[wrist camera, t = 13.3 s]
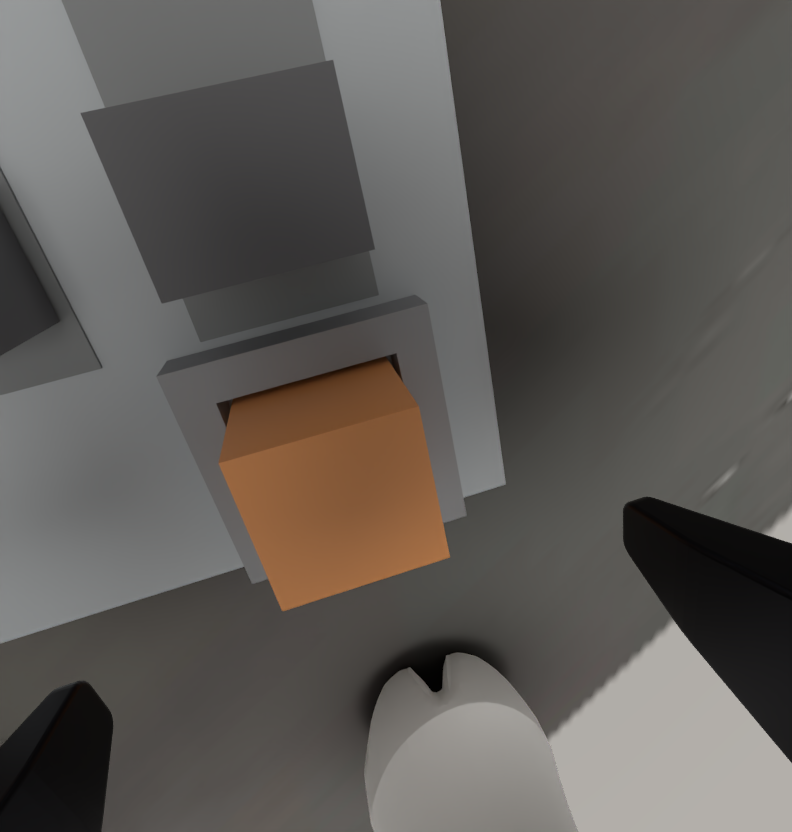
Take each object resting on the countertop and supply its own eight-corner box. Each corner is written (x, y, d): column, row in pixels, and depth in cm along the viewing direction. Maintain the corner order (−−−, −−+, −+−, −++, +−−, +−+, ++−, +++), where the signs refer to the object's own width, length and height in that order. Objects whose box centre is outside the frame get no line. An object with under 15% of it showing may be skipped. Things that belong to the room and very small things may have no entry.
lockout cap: (409, 472, 15) (449, 557, 12) (281, 510, 15) (282, 611, 11) (381, 349, 13) (418, 405, 10) (234, 389, 13) (218, 463, 9)
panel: (488, 462, 17) (553, 544, 13) (20, 606, 16) (-71, 750, 12) (344, -489, 9) (404, -1104, 5) (-745, -387, 7) (-2186, -1208, 3)
